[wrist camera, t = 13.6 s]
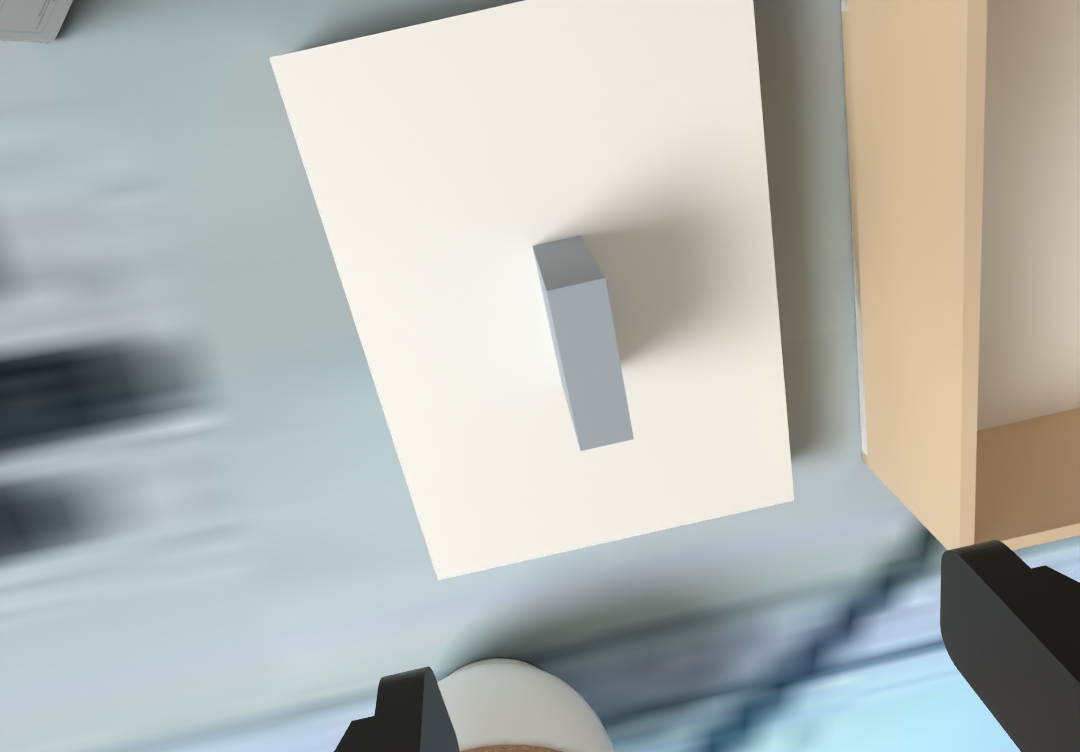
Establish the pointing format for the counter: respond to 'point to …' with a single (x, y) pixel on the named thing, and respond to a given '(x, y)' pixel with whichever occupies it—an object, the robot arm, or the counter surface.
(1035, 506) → the base
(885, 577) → the counter surface
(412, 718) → the robot arm
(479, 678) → the lidded jar
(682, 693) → the counter surface
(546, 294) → the lid
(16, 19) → the ink cartridge box
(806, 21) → the counter surface
